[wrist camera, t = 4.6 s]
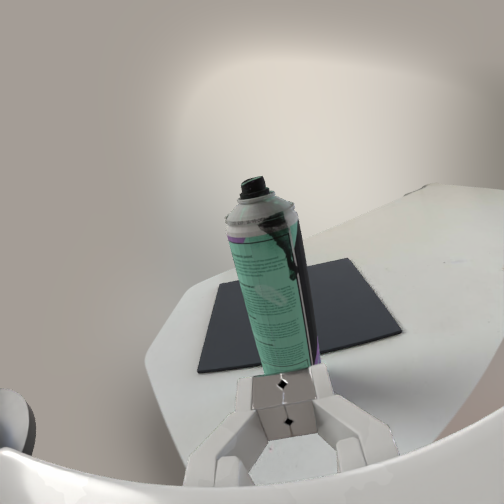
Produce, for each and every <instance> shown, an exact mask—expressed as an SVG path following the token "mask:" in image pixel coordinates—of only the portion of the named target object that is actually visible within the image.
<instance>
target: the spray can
mask: <svg viewBox="0 0 504 504" xmlns="http://www.w3.org/2000/svg"><path fill="white" fill-rule="evenodd" d="M241 188H242V193H241V194H240V198H239V199H238V200H237V201H238V203H239V204H238V205H237V206H236V207H235V208H234V209H233V211H232V212H231V213H230V214H229V215H227V216H226V217H225V223H226V224H227V227H226V232H227V236H228V240H229V244H230V248H231V252H232V256H233V260H234V263H235V267H236V271H237V275H238V279H239V282H240V286H241V290H242V294H243V297H244V301H245V305H246V309H247V312H248V316H249V320H250V323H251V327H252V331H253V334H254V338H255V342H256V345H257V349H258V352H259V356H260V359H261V363H262V367H263V370H264V374H272V373H278V372H284V371H289V370H294V369H299V368H304V367H308V366H312V365H316V364H320V363H321V359H320V351H319V344H318V336H317V329H316V322H315V315H314V308H313V301H312V295H311V288H310V282H309V276H308V270H307V264H306V258H305V252H304V246H303V241H302V235H301V230H300V224H299V219H298V214H297V212H296V211H295V210H294V208H295V206H294V203H293V202H290V201H286V200H284V199H282V198H279V197H277V196H275V192H274V191H269V188H267V187H266V185H265V181H264V178H263V176H259V177H255V178H251V179H247V180H246V181H244V182H243V183H242V184H241Z"/></svg>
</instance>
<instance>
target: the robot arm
mask: <svg viewBox="0 0 504 504" xmlns="http://www.w3.org/2000/svg"><path fill="white" fill-rule="evenodd" d="M314 433H318V435H319V436H321V437H322V438H323V439H324V440H325V441H326V442H327V443H328V444H329V445H330V446H331V447H332V448H333V449H334V450H336V455H337V474H332V475H327V476H322V477H317V478H311V479H306V480H299V481H293V482H285V483H277V484H267V485H256V486H255V484H254V482H253V481H252V479H251V477H250V476H249V474H248V473H249V471H250V470H251V468H252V467H253V465H254V464H255V462H256V461H257V459H258V458H259V456H260V455H261V453H262V452H263V450H264V448H265V447H266V445H267V444H268V441H271V440H278V439H283V438H289V437H295V436H302V435H308V434H314ZM0 504H504V406H503V407H501V408H500V409H498V410H496V411H495V412H493V413H491V414H490V415H488V416H486V417H484V418H483V419H481V420H479V421H477V422H475V423H473V424H471V425H470V426H468V427H466V428H464V429H462V430H460V431H458V432H455V433H453V434H452V435H449V436H447V437H445V438H443V439H440V440H438V441H436V442H433V443H431V444H429V445H426V446H424V447H421V448H419V449H416V450H414V451H411V452H408V453H405V454H403V455H400V454H399V451H398V448H397V445H396V443H395V440H394V438H393V435H392V432H391V430H390V427H389V425H387V424H385V423H384V422H382V421H380V420H379V419H377V418H375V417H374V416H372V415H371V414H369V413H367V412H366V411H364V410H363V409H361V408H359V407H358V406H356V405H355V404H353V403H352V402H350V401H348V400H347V399H345V398H344V397H342V396H341V395H339V394H338V395H334V391H333V388H332V384H331V381H330V377H329V373H328V370H327V366H326V364H325V363H320V364H316V365H312V366H308V367H304V368H299V369H294V370H289V371H284V372H278V373H272V374H265V375H258V376H253V377H244V378H239V379H238V382H237V393H236V404H235V412H232V413H230V414H229V415H228V416H227V417H226V418H225V419H224V420H223V421H222V423H221V424H220V425H219V426H218V427H217V428H216V429H215V430H214V431H213V432H212V433H211V434H210V435H209V436H208V437H207V438H206V439H205V440H204V441H203V442H202V443H201V444H200V445H199V447H198V448H197V449H196V450H195V451H194V452H193V453H192V454H191V455H190V456H189V458H188V462H187V467H186V472H185V477H184V482H183V486H168V485H158V484H149V483H140V482H133V481H127V480H120V479H115V478H109V477H104V476H100V475H95V474H91V473H86V472H82V471H78V470H74V469H71V468H67V467H63V466H60V465H57V464H54V463H50V462H47V461H44V460H41V459H38V458H35V457H33V456H30V455H27V454H25V453H22V452H20V451H17V450H15V449H12V448H9V447H3V448H1V449H0Z"/></svg>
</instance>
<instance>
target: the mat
mask: <svg viewBox="0 0 504 504" xmlns="http://www.w3.org/2000/svg"><path fill="white" fill-rule="evenodd" d="M307 270H308V276H309V282H310V288H311V295H312V301H313V308H314V315H315V322H316V329H317V336H318V344H319V351H320V354H321V353H326V352H330V351H335V350H339V349H343V348H347V347H351V346H355V345H359V344H363V343H367V342H370V341H374V340H378V339H381V338H385V337H388V336H392V335H395V334H398V333H401V332H402V330H401V328H400V327H399V326H398V324H397V323H396V321H395V320H394V319H393V317H392V316H391V314H390V313H389V312H388V310H387V309H386V307H385V306H384V305H383V303H382V302H381V301H380V299H379V298H378V297H377V295H376V294H375V293H374V291H373V290H372V289H371V287H370V286H369V285H368V283H367V282H366V281H365V279H364V278H363V277H362V275H361V274H360V273H359V272H358V270H357V269H356V268H355V266H354V265H353V264H352V263H351V261H350V260H349V259H348V258H344V259H340V260H335V261H330V262H326V263H321V264H316V265H312V266H307ZM258 365H262V363H261V359H260V356H259V352H258V349H257V345H256V342H255V338H254V334H253V331H252V327H251V323H250V320H249V316H248V312H247V309H246V305H245V301H244V297H243V294H242V290H241V286H240V282H239V280H238V281H233V282H228V283H222V284H220V285H219V289H218V293H217V296H216V300H215V304H214V307H213V311H212V315H211V319H210V323H209V326H208V330H207V334H206V338H205V342H204V346H203V349H202V353H201V357H200V361H199V365H198V369H197V372H198V373H205V372H214V371H222V370H230V369H237V368H244V367H251V366H258Z"/></svg>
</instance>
